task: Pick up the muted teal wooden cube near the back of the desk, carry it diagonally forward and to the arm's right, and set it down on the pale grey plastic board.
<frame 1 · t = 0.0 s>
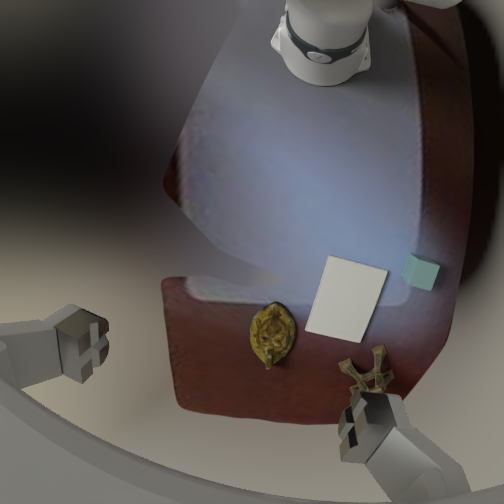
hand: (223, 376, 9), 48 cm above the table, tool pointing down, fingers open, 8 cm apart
cube: (415, 267, 54), on the table
board: (345, 300, 57), on the table
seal: (272, 332, 62), on the table
eiffel tower: (367, 370, 61), on the table
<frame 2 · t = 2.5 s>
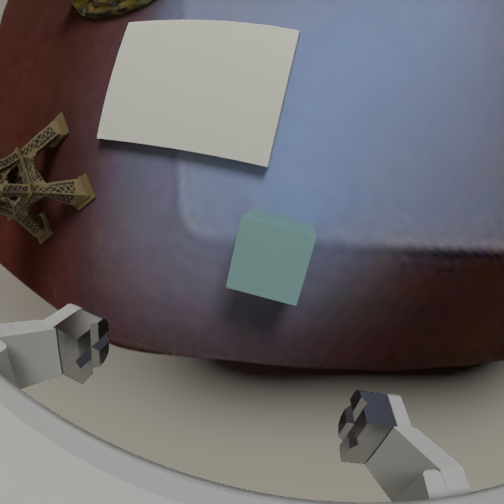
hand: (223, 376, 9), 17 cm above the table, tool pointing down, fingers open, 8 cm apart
cube: (275, 245, 25), on the table
board: (191, 82, 22), on the table
eiffel tower: (49, 180, 27), on the table
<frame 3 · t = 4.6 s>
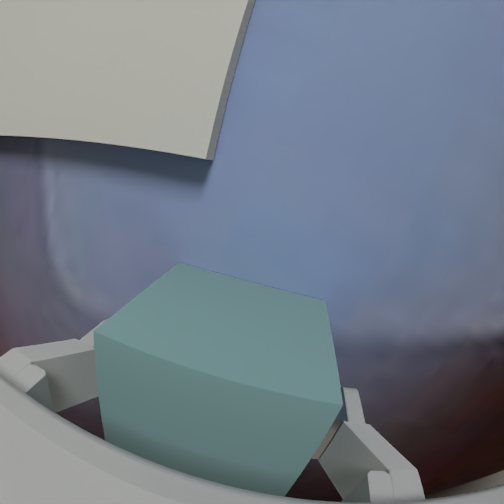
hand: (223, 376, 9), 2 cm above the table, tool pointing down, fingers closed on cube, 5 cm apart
cube: (235, 344, 11), on the table, touching gripper
board: (76, 10, 8), on the table
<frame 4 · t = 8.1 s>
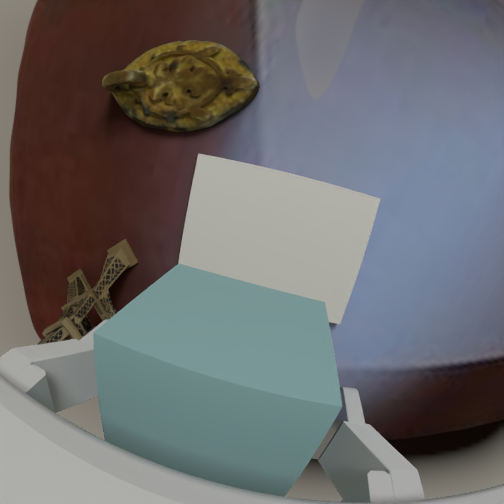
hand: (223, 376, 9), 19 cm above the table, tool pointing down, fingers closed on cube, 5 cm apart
cube: (235, 345, 11), point 17 cm above the table, touching gripper
board: (273, 239, 27), on the table
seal: (182, 86, 25), on the table
eiffel tower: (117, 300, 32), on the table
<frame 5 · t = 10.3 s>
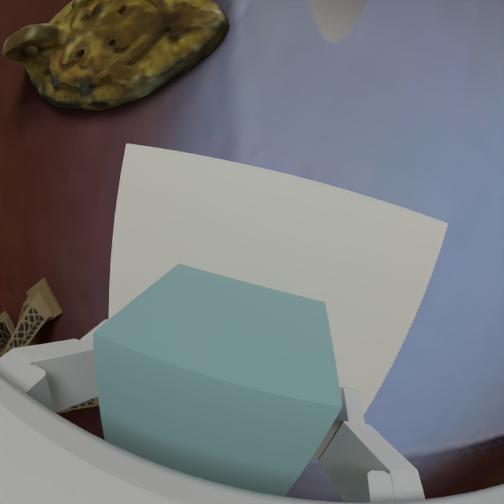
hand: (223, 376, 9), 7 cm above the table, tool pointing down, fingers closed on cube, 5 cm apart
cube: (235, 346, 11), point 5 cm above the table, touching gripper
board: (258, 293, 15), on the table
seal: (113, 41, 13), on the table
eiffel tower: (50, 356, 20), on the table
when the fingers open (4 cm above the table, at t = 11.8 s): cube drops 1 cm, resting on board.
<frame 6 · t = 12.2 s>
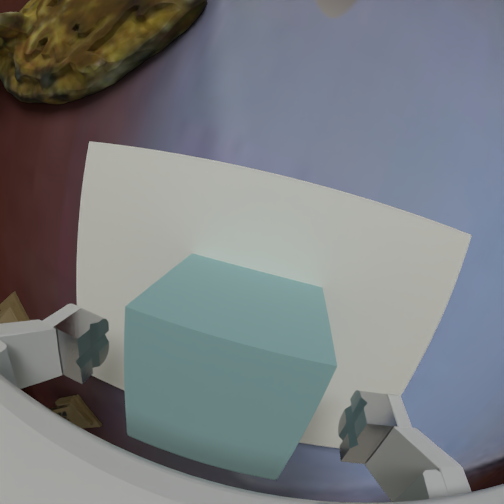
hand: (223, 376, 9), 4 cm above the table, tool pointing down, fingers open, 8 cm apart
cube: (242, 328, 12), point 1 cm above the table, touching board
board: (244, 318, 13), on the table
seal: (82, 27, 11), on the table
eiffel tower: (27, 372, 17), on the table
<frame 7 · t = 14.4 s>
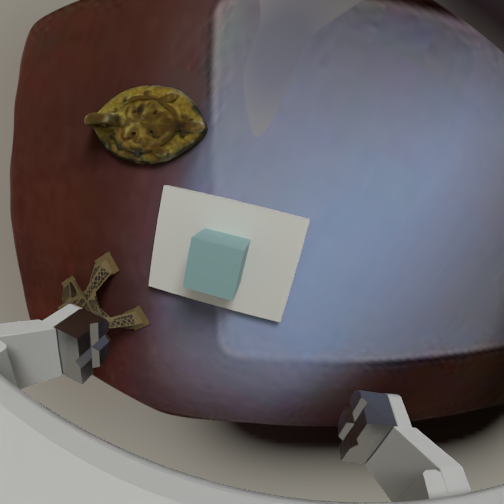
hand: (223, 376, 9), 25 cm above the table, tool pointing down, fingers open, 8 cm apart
cube: (222, 255, 33), point 1 cm above the table, touching board
board: (223, 253, 34), on the table
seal: (148, 124, 32), on the table
eiffel tower: (103, 301, 38), on the table
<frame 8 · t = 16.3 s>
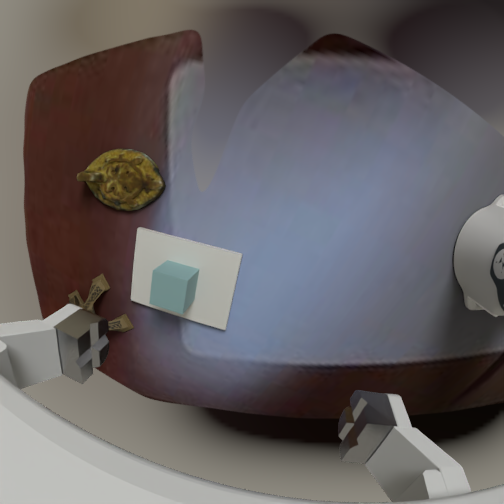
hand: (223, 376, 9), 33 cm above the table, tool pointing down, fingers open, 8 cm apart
cube: (180, 280, 44), point 1 cm above the table, touching board
board: (182, 278, 45), on the table
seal: (124, 179, 43), on the table
eiffel tower: (99, 310, 49), on the table
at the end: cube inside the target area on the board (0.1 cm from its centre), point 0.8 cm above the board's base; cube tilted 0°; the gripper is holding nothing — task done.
